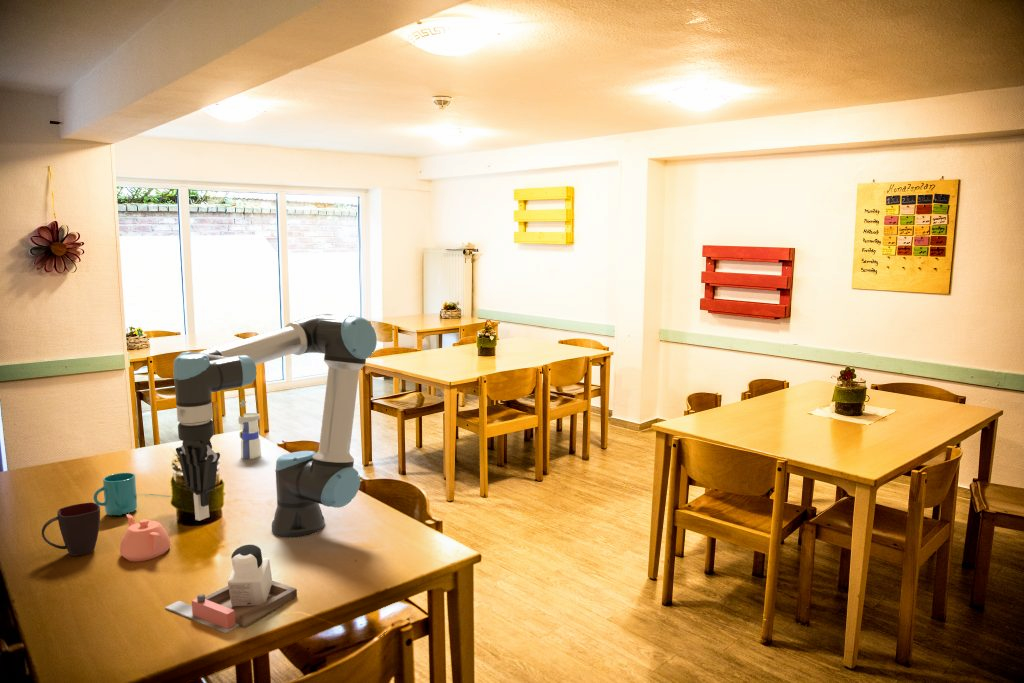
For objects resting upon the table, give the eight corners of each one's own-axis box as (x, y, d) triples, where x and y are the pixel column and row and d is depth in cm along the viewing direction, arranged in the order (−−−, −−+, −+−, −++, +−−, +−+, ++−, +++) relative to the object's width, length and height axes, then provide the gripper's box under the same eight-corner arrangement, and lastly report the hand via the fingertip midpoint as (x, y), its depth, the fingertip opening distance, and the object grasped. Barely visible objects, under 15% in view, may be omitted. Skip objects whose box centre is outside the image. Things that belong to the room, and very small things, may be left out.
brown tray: (165, 608, 165) (164, 598, 165) (233, 576, 182) (232, 567, 181) (231, 635, 154) (230, 624, 154) (297, 598, 171) (296, 588, 170)
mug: (106, 552, 195) (103, 510, 194) (46, 566, 186) (43, 522, 185) (98, 540, 203) (95, 500, 201) (40, 553, 194) (37, 512, 192)
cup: (91, 512, 224) (89, 478, 222) (133, 503, 232) (131, 470, 230) (98, 521, 217) (95, 485, 216) (140, 511, 225) (138, 477, 224)
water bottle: (234, 465, 272) (232, 402, 269) (246, 459, 281) (244, 397, 278) (254, 467, 271) (252, 403, 268) (266, 460, 280) (263, 398, 276)
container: (240, 583, 173) (233, 540, 167) (273, 582, 173) (267, 540, 168) (231, 607, 165) (223, 563, 160) (265, 606, 166) (258, 562, 161)
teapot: (136, 569, 185) (134, 535, 184) (107, 550, 196) (105, 518, 195) (182, 554, 195) (180, 521, 193) (151, 537, 206) (149, 505, 204)
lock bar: (192, 614, 162) (191, 595, 161) (200, 611, 163) (199, 591, 163) (227, 629, 156) (226, 609, 155) (235, 625, 158) (234, 605, 157)
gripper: (162, 421, 163) (170, 518, 167) (199, 428, 157) (206, 529, 161) (191, 414, 170) (198, 507, 174) (227, 421, 164) (234, 517, 167)
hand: (202, 517), depth 167 cm, fingers closed
